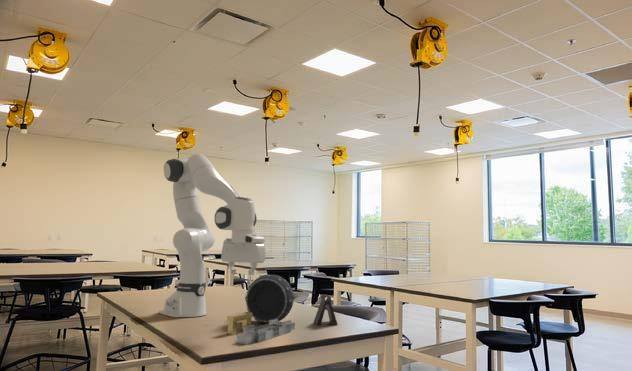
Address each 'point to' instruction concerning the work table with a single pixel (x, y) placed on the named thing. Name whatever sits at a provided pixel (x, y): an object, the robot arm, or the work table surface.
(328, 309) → the brown a-shaped stand
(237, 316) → the tan notched block
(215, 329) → the work table surface
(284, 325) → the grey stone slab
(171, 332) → the work table surface
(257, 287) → the dark grey short cylinder
